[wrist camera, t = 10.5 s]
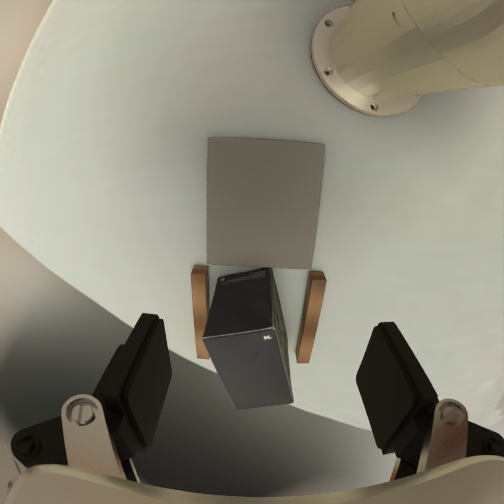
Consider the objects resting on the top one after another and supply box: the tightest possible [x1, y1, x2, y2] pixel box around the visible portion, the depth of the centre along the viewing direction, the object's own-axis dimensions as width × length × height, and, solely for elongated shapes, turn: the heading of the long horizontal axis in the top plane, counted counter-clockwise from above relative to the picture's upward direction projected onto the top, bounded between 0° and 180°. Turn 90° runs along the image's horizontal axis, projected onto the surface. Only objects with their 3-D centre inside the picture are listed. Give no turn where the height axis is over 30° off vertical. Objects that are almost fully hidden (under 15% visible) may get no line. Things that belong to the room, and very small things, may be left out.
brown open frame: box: [191, 265, 327, 363], centre depth 32 cm, size 12×14×2 cm
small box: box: [202, 268, 294, 409], centre depth 28 cm, size 11×6×10 cm, turn 14°
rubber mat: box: [207, 138, 325, 269], centre depth 28 cm, size 13×11×1 cm
